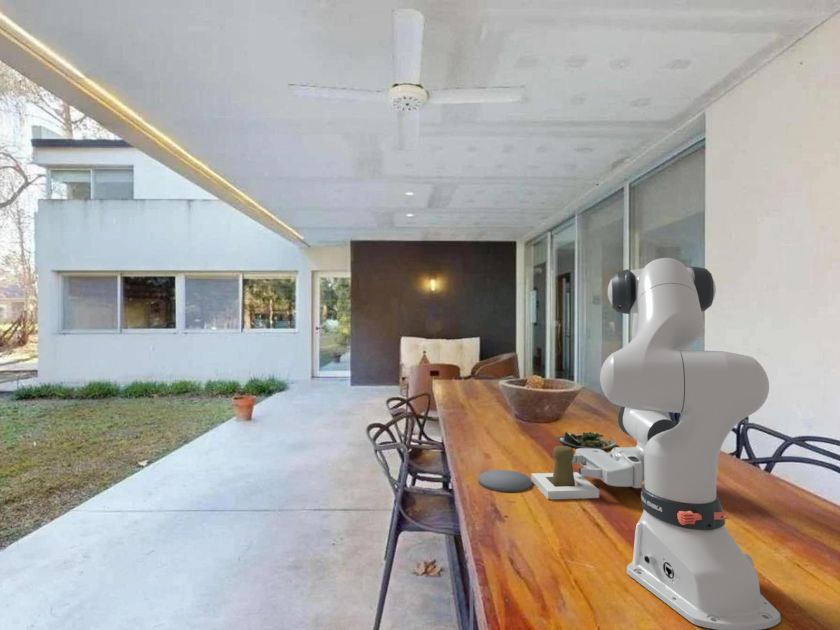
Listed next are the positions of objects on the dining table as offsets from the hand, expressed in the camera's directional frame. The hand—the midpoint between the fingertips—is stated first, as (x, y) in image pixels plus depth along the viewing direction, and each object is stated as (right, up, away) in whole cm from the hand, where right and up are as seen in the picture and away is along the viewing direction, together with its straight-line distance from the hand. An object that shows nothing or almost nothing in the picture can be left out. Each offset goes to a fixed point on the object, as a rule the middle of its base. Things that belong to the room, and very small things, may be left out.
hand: (572, 465), depth 121 cm
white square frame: (-2, -6, 0) cm, 6 cm away
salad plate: (+18, -7, +42) cm, 46 cm away
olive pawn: (-2, -6, 0) cm, 7 cm away
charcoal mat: (-17, -6, +5) cm, 18 cm away
